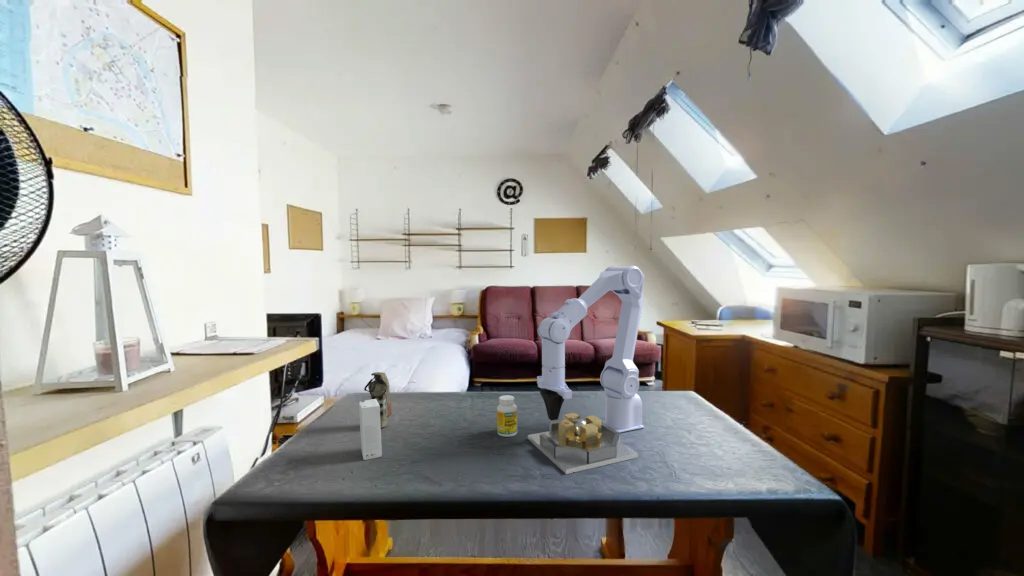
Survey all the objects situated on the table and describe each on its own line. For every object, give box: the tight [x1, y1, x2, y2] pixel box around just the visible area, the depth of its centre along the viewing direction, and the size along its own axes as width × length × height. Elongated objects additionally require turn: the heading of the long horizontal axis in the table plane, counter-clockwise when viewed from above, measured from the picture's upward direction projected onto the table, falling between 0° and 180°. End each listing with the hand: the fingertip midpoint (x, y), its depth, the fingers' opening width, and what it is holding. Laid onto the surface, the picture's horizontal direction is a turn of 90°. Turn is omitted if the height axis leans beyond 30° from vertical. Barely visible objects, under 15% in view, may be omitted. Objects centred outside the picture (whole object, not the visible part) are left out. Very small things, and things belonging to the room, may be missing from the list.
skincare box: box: [358, 398, 383, 461], centre depth 93 cm, size 6×4×12 cm
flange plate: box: [527, 418, 639, 475], centre depth 95 cm, size 19×19×7 cm
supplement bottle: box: [496, 394, 518, 438], centre depth 104 cm, size 5×5×10 cm
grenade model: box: [363, 371, 393, 429], centre depth 108 cm, size 6×7×15 cm
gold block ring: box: [558, 412, 602, 449], centre depth 95 cm, size 10×10×6 cm
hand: (553, 419), depth 99 cm, fingers closed
